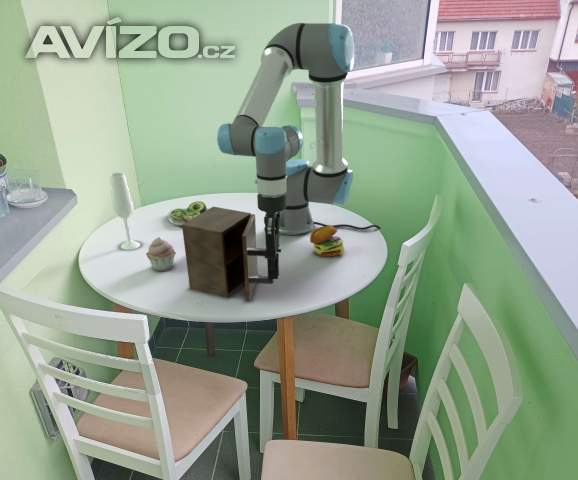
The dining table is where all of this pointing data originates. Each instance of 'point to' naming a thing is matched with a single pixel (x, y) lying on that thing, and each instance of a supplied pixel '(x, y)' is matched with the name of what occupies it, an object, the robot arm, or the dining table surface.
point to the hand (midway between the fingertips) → (273, 276)
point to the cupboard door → (252, 258)
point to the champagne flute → (122, 205)
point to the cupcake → (161, 255)
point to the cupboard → (215, 251)
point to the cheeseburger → (326, 241)
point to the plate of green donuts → (186, 213)
